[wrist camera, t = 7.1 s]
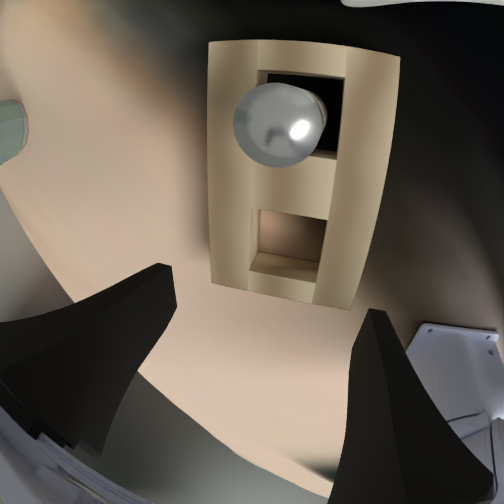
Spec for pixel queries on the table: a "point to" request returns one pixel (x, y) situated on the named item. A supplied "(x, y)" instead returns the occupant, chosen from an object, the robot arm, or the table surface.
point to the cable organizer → (377, 0)
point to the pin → (279, 124)
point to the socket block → (298, 170)
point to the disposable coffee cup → (12, 129)
